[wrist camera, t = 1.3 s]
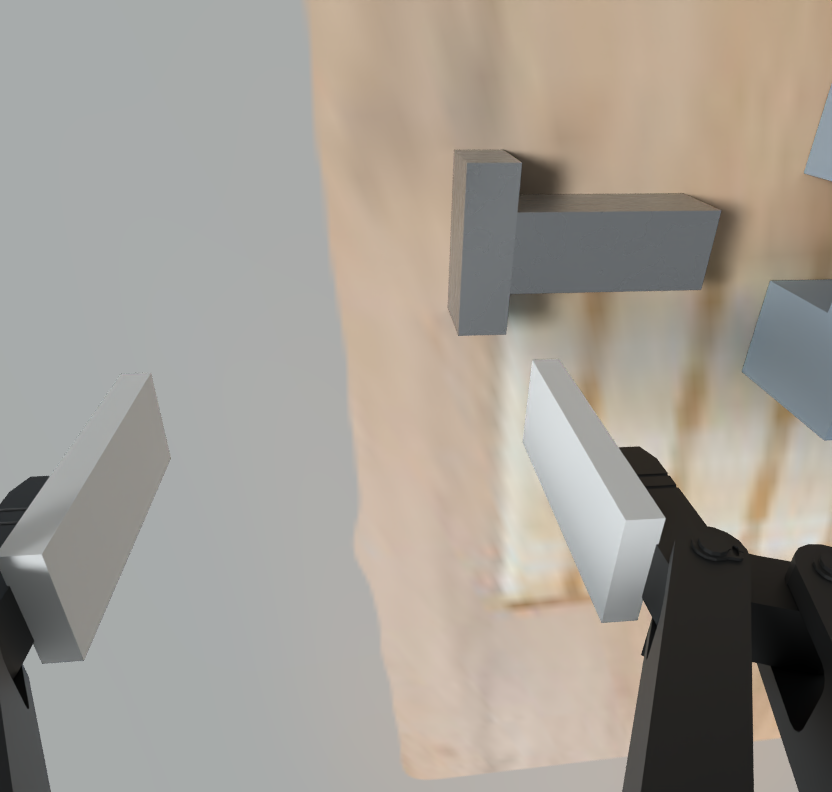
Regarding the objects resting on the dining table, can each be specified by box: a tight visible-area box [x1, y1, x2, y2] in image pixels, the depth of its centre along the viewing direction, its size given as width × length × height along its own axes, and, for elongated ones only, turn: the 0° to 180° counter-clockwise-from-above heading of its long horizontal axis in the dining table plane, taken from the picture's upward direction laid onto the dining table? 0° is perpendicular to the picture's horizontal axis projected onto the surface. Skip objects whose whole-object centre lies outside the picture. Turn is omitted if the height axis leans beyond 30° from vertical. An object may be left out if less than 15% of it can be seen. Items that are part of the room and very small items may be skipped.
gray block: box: [448, 150, 721, 336], centre depth 32 cm, size 8×12×4 cm
